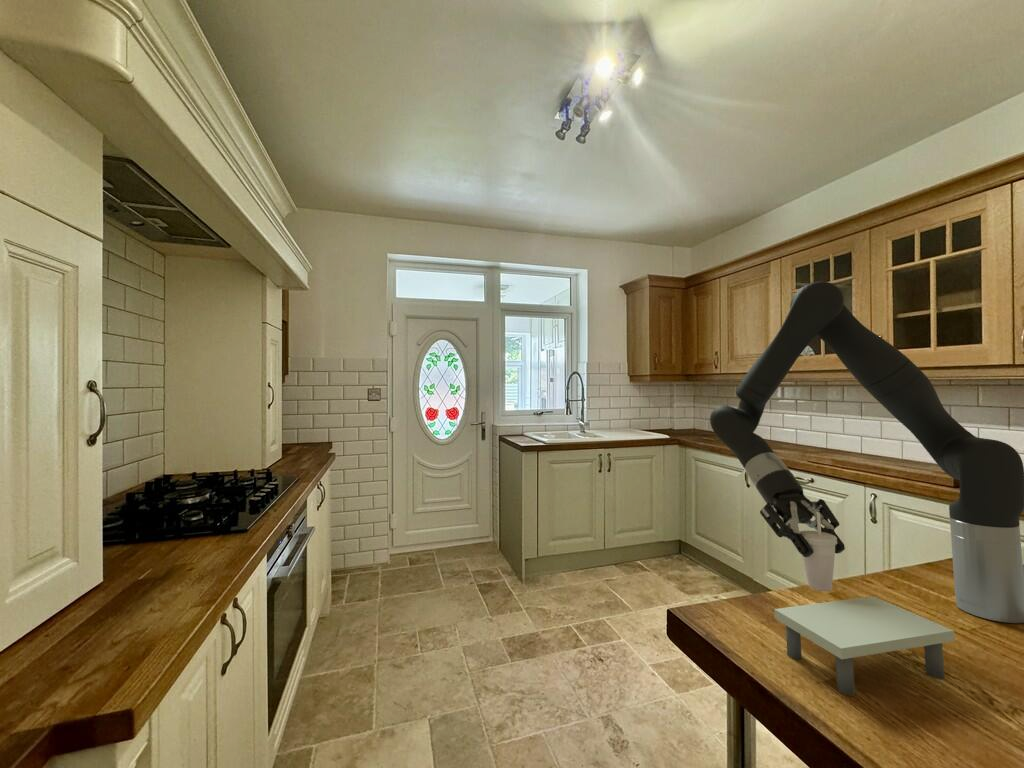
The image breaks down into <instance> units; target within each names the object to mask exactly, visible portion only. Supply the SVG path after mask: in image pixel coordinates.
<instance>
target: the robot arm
mask: <svg viewBox="0 0 1024 768" xmlns="http://www.w3.org/2000/svg"><path fill="white" fill-rule="evenodd" d="M844 303H845V298H844V295H843V292H842V290H841V289H840V287H838V286H837V285H836V284H834V283H832V282H829V281H813V282H810V283H808V284H805V285H803V286H801V288H799V289H798V290H797V291H796V292H795V294H793V296H792V298H791V299H790V303H789V304H790V305H789V311H788V313H787V315H786V317H785V319H784V321H783V323H782V325H781V327H780V329H779V330H778V332H777V333H776V335H775V337H774V338H773V339H772V341H771V342H770V344H768V346H766V348H765V349H764V350H763V352H762V353H761V354H760V355H759V357H758V358H757V359H756V361H755V362H754V363H753V364H752V366H751V367H750V368H749V370H748V371H747V373H746V374H745V375H744V377H743V379H742V380H741V381H740V383H739V384H738V386H737V388H736V390H735V395H736V396H737V398H738V399H739V404H738V406H737V407H736V408H735V407H733V406H729V405H720V406H717V407H716V408H714V409H713V410H712V411H711V413H710V416H709V424H710V426H711V429H712V431H713V433H714V434H715V435H716V436H717V438H719V440H721V442H723V444H725V446H726V447H727V448H728V449H730V450H731V451H732V452H733V454H735V456H736V458H737V459H738V461H739V462H740V464H741V465H742V467H743V468H744V469H745V471H746V473H747V476H748V477H749V479H750V481H751V482H752V484H753V486H754V487H755V488H756V490H757V491H758V493H759V494H760V496H761V497H762V499H763V500H764V503H766V504H765V505H764V506H763V507H762V508H761V510H760V511H759V514H760V516H762V517H763V519H764V521H766V523H767V524H768V526H769V527H770V528H771V530H772V531H773V532H774V533H775V535H776V536H777V537H778V538H783V537H785V538H787V539H788V540H790V541H791V542H792V543H793V546H794V547H795V549H796V550H797V552H798V553H799V554H800V555H803V556H804V557H809V556H811V555H812V554H813V549H812V548H811V547H810V545H809V544H808V542H807V541H806V539H805V538H804V536H803V535H802V534H799V532H800V529H799V524H803V525H807V527H809V528H810V529H813V530H814V529H815V531H818V530H817V515H816V512H820V522H821V525H822V526H821V532H825V533H829V534H832V535H834V536H836V537H837V544H836V545H835V555H836V554H841V553H842V552H843V551H845V550H846V547H845V544H844V542H843V541H842V539H840V537H839V535H838V534H837V533H836V531H835V529H837V528H838V527H839V526H840V522H839V521H838V519H837V518H836V516H835V515H834V513H833V511H832V510H831V508H830V507H829V505H828V504H827V503H826V501H825V500H824V499H822V498H819V499H818V500H817V501H811V500H810V499H809V498H808V497H806V495H805V494H804V489H803V486H802V484H800V482H799V481H798V480H797V478H796V477H795V475H793V473H792V472H791V470H790V469H789V468H788V466H787V465H786V464H785V462H784V461H783V460H782V459H781V458H780V457H779V456H777V454H776V452H775V451H774V450H773V449H772V448H771V447H770V445H769V444H768V442H767V441H766V440H765V439H764V438H763V437H762V436H760V435H759V434H757V433H755V431H756V430H757V428H758V425H759V423H760V421H761V418H762V415H763V414H764V410H765V407H766V405H767V403H768V401H769V400H770V399H771V398H772V396H773V394H774V393H775V392H776V391H777V389H778V388H779V387H780V385H781V383H782V382H783V381H784V379H785V378H786V377H787V374H788V373H789V372H790V370H791V369H792V367H793V366H794V364H795V363H796V361H797V359H799V357H800V355H801V354H802V353H803V352H804V351H805V349H806V348H807V347H808V345H810V344H811V342H812V341H813V339H815V337H818V338H819V339H820V340H822V341H823V342H824V343H825V344H826V345H827V346H828V347H829V348H830V349H831V350H832V351H833V352H834V354H835V355H836V356H837V358H838V359H839V360H840V362H841V363H842V364H843V365H844V367H846V369H847V370H848V371H849V372H850V374H851V375H852V376H853V377H854V378H855V379H856V381H857V382H858V383H859V384H860V385H861V386H862V387H863V388H864V389H865V390H866V391H867V392H868V393H869V394H870V395H871V396H872V397H873V398H874V399H875V400H876V401H877V402H878V403H880V404H881V406H882V407H884V408H885V409H886V410H887V411H888V412H889V413H890V414H891V415H892V416H893V417H894V418H895V419H896V420H897V421H898V422H899V423H901V424H902V425H903V426H904V427H905V428H906V429H907V430H908V431H910V433H911V434H912V435H913V436H914V437H915V439H917V440H918V443H920V444H921V445H922V447H923V448H924V450H925V451H926V452H927V453H928V455H930V456H931V458H932V459H933V461H934V462H935V463H936V464H937V466H938V467H939V468H940V469H941V470H942V471H943V472H944V473H945V474H947V475H948V476H949V477H951V478H953V479H955V480H956V481H959V495H958V499H957V500H956V501H952V502H950V504H949V505H948V510H949V511H948V512H949V513H948V514H949V526H950V527H949V528H950V529H949V530H950V539H951V542H950V543H951V555H952V557H951V558H952V567H953V568H952V570H953V582H954V583H953V584H954V594H955V595H954V597H955V598H954V599H955V605H956V607H957V608H958V609H960V610H962V611H963V612H966V613H968V614H970V615H973V616H976V617H979V618H982V619H986V620H990V621H996V622H1000V623H1007V624H1008V623H1010V624H1022V623H1024V563H1023V552H1022V541H1021V528H1020V517H1021V516H1022V514H1023V511H1024V463H1023V460H1022V458H1021V456H1020V454H1019V453H1018V451H1017V450H1016V449H1015V448H1014V447H1013V446H1011V445H1010V444H1008V443H1006V442H1003V441H1000V440H997V439H991V438H990V439H989V438H985V437H984V438H983V437H977V436H976V435H974V434H972V433H971V432H970V431H968V430H967V429H966V428H965V427H963V426H962V425H961V424H960V423H959V422H958V421H957V420H956V419H955V418H953V417H952V416H951V414H950V413H948V411H947V410H946V408H945V407H944V406H943V403H942V402H941V400H940V398H939V396H938V394H937V391H936V390H935V387H934V386H933V384H932V381H931V379H929V378H928V377H927V375H926V374H925V373H924V371H922V370H921V369H920V368H919V367H918V366H917V365H916V364H915V363H914V362H913V361H912V360H911V359H910V358H908V357H907V355H905V354H904V353H902V352H901V351H900V350H899V349H898V348H896V347H895V346H893V345H892V344H891V343H890V342H888V341H887V340H886V339H883V338H882V337H881V336H879V335H877V334H876V333H875V332H874V331H872V330H870V329H869V328H868V327H866V326H865V325H863V323H861V322H860V321H859V320H858V319H857V318H856V317H855V315H853V313H852V312H851V311H850V309H848V307H847V306H846V305H845V304H844ZM813 518H814V519H813ZM812 519H813V520H812Z"/></svg>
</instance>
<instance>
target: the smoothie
mask: <svg viewBox="0 0 1024 768" xmlns="http://www.w3.org/2000/svg"><path fill="white" fill-rule="evenodd" d="M816 515H817V530H818V531H817V530H801V531H800V530H799V534H802V535H803V536H804V538H805V539H806V541H807V542H808V544H809V545H810V547H811V548H812V549H813V554H812V555H811V556H809V557H804V556H803V555H802V554H801V555H802V562H803V566H804V572H805V574H806V575H805V576H806V580H807V585H808V587H809V588H811V589H813V590H815V591H819V592H830V591H832V590H833V580H834V571H835V570H834V568H835V557H836V556H835V555H836V553H835V545H836V544H837V537H836V536H834V535H832V534H829V533H825V532H821V527H822V526H821V525H822V524H821V522H820V512H816Z"/></svg>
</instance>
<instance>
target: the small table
mask: <svg viewBox="0 0 1024 768" xmlns="http://www.w3.org/2000/svg"><path fill="white" fill-rule="evenodd" d="M774 619H775V620H777V621H778V622H780V623H782V624H783V625H784V626H785V637H786V638H785V640H786V654H787V656H788V657H789V658H791V659H793V660H801V659H802V658H803V657H802V639H801V636H803V637H804V638H806V639H807V640H809V641H811V642H812V643H814V644H816V645H818V646H819V647H821V648H822V649H824V650H826V651H827V652H829V653H830V654H832V655H834V656H835V672H836V687H837V691H838V692H839V693H841V694H843V695H845V696H849V697H850V696H855V695H856V690H855V689H856V687H855V673H854V658H859V657H866V656H872V655H877V654H878V655H879V654H884V653H889V652H896V651H900V650H901V651H902V650H908V649H914V648H920V647H924V662H925V663H924V664H925V673H926V675H928V676H929V677H931V678H933V679H938V680H944V679H945V668H944V667H945V665H944V652H943V651H944V650H943V649H944V648H943V644H945V643H950V642H951V643H952V642H955V641H956V640H955V630H954V629H951V628H949V627H947V626H944V625H942V624H939V623H937V622H935V621H934V620H933V621H932V620H931V619H928V618H926V617H923V616H922V615H918V614H916V613H914V612H913V611H912V612H911V611H909V610H907V609H904V608H902V607H900V606H898V605H895V604H894V603H890V602H889V601H886V600H883V599H881V598H879V597H877V596H874V595H870V596H863V597H862V596H861V597H856V598H849V599H848V598H847V599H841V600H834V601H827V602H826V601H825V602H818V603H811V604H810V603H809V604H804V605H803V604H802V605H795V606H789V607H787V606H786V607H780V608H774Z"/></svg>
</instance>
